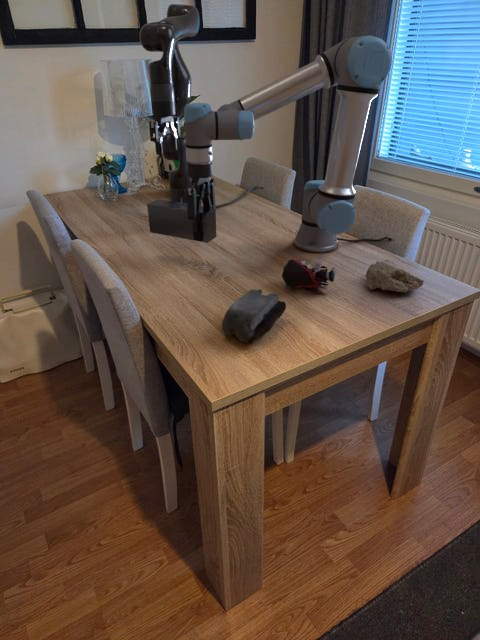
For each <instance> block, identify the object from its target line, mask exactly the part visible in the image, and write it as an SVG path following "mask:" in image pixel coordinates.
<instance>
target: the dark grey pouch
mask: <svg viewBox="0 0 480 640" xmlns="http://www.w3.org/2000/svg"><path fill="white" fill-rule="evenodd" d="M262 292H263V290H262V289H250V290H248V291H247V292H246V293H245V294H243V295H242V296H241V297H239V298H238V299H237V300H235V301H234V302H233V303H232V304H231V305H230V306H229V307H228V309H227V310H226V312H225V314H224V316H223V319H222V323H221V331H222V332H223V333H224V334H225V335H227V336H234V335H235V337H236V338H237V340H239V341H240V342H244V343H247V344H249V345H251V344H253V343H254V342H255V341H257V340H258V339H260V338H262V337H264V336H265V335H266V334H267V333H269V332H270V331H271V330H272V328H273V327H274V325H275V323H276V322H277V320H278V319H279V318H280V317H281V316H283V314H284V313H285V312H286V310H287V304H286V303H287V302H285V301H280V298H279V294H278V293H276V292H275V293H274V292H273V293H269V294H262Z"/></svg>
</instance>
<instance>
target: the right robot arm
mask: <svg viewBox="0 0 480 640" xmlns="http://www.w3.org/2000/svg"><path fill="white" fill-rule="evenodd" d="M391 51H392V50H391V49H390V47H389V45H388V44H387V42H386V41H385V40H383V39H382V38H380V37H377V36H373V35H361V36H350V37H348V38H345V39H344V40H341V41H340V42H338V43H337V44H335V45H333V46H332V47H330V48H329V49H327V50H325V51H323V52H321V53H319V54H317V55H316V57H315V59H314V61H312V62H310V63H307V64H306V65H304V66H301V67H299V68H298V69H296V70H294V71H292V72H290V73H287V74H286V75H284V76H282V77H280V78H278V79H275V80H274V81H272V82H270V83H268V84H266V85H264V86H261V87H260V88H259V89H256V90H254V91H252V92H250V93H248V94H246V95H244V96H242V97H240V98H238V99H237V100H235V101H232V102H231V103H228V104H227V103H226V104H222V105H221V106H219V107H218V108H217V110H216V111H215V110H212V106H211V104H210V103H206V102H192V103H188V104H187V105H186V106H185V108H184V112H183V118H184V119H183V120H184V121H183V123H184V125H183V126H184V136H185V139H186V158H187V161H188V164H187V173H188V176H189V177H191V179H192V181H191V187H190V188H186V194H187V212H188V220H189V221H192V223H193V237H194V240H195V242H199V241H200V243H202V242H201V241H202V224H201V221H200V212H201V206H205V207H212V208H216V207H215V206H216V192H215V191H216V190H215V183H216V179H215V178H211V177H212V176H213V175H214V166H213V165H214V164H213V162H212V161H213V153H214V152H213V141H244V140H251V139H253V137H254V132H255V122H256V121H257V120H259V119H262V118H264V117H265V116H267V115H269V114H271V113H274V112H276V111H277V110H279V109H280V110H281V108H284V107H286V106H288V105H290V104H291V103H294V102H296V101H298V100H300V99H302V98H304V97H306V96H308V95H310V94H312V93H314V92H316V91H318V90H321V89H323V88H324V89H327V90H329V89H330V88H333V87H335V86H336V92H337V94H338V95H339V98H340V99H339V103H338V109H337V113H336V119H335V124H334V130H333V136H332V141H331V147H330V151H329V156H328V162H327V166H326V173H325V178H324V179H318V180H317V179H315V180H308V181H307V182H305V183H304V188H303V199H302V211H301V223H300V226H299V228H298V230H296V231H295V238H294V245H295V246H296V247H297V248H298V249H300V250H302V251H305V252H310V253H328V252H331V251H334V250H335V249H337V246H338V241H342V242H347V243H357V242H382V241H384V240H389V241H393V239H392V237H390V238H388V237H389V236H383V237H381V238H357V239H347V238H342V237H337V235H342V234H344V233H345V232H347V231H349V229H350V228H351V227H352V226H353V225H354V224H355V221H356V216H357V212H356V208H355V206H354V201H355V198H356V190H355V189H354V187H353V183H354V179H355V174H356V170H357V167H358V166H357V165H358V161H359V156H360V151H361V148H362V142H363V139H364V134H365V129H366V124H367V120H368V115H369V113H370V112H369V111H370V107H371V102H372V101H373V100H374V99H375V98H377V97H378V95H379V92H380V88H381V84H382V83H383V82H384V81H385V80H386V79H387V78H388V76H389V74H390V71H391V68H392V63H393V62H392V61H393V56H392V52H391ZM197 195H200V196H197ZM216 209H217V208H216ZM194 240H193V241H194Z"/></svg>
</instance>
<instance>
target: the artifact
mask: <svg viewBox="0 0 480 640" xmlns="http://www.w3.org/2000/svg"><path fill="white" fill-rule="evenodd" d="M365 278H366V287H368V288H369V290H370V291H373V290H376V289H381V291H392V292H397V293H408V292H409V291H416V290H417V289H419V288H421V287H422V286H423V285H424V280H423V279H421V278H419V277H417V276H415V275H413V274H411V273H409V272H408V271H406V270H404V269H401V267H400V266H398V265H397V264H395V262H393V260H391V259H384V260H382V261H376V262H375V263H371V264H370V265H369V266H368V268H367V271H366V273H365Z"/></svg>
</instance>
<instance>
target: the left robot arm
mask: <svg viewBox="0 0 480 640" xmlns="http://www.w3.org/2000/svg"><path fill="white" fill-rule="evenodd" d="M200 18H201V17H200V12H199V10H198V8H197V6H194V5H192V4H191V5H190V4H181V3H180V4H179V3H178V4H177V3H171V4H170V5H168V7H167V10H166V17H164V18H162V19H161V20H159V21H154V22H147V23H145V24H144V25H143V26H141V28H140V31H139V34H138V35H139V43H140V45H141V47H142V48H143V49H144V50H145V51H147V52H150V53H162V56H161V58H160V59H157V60H154V61H150V62H149V64H148V73H149V87H150V88H149V94H150V105H151V114H152V116H153V117H155V119H154V120H155V121H153V120H150V121H148V126H149V141H150V142H153V143H154V146H155V147H154V148H155V153H156V155H157V156H163V158H164V159H165V160H167V161H172V162H173V161H179V168H177V169H175V168H174V169H170V171H169V172H168V182H169V189H170V193H169V195H170V196H169V197H170V201H173V202H179V203H186V204H187V194H186V188H190V187H191V181H192V179H191V177H189V176H188V173H187V164H188V161H187V158H186V139H185V135H181V126H180V119H181V117H182V115H184V108H185V106H186V105H187V104H190V100H191V97H192V76H191V73H190V71H189V69H188V66H187V65H186V62H185V61H184V58H183V56H182V54H181V51H180V46H179V42H178V41H180V40H181V39H184V38H188V37H194V36H197V34H198V33H199V30H200V24H201V19H200ZM257 188H261V189H264V186H263V187H259V185H255V186H254V187H251V188H249V189H247V190H246V192H244V193H243V194H242V195H241V196H239V197H237V198H235V199H234V200H232V201H229V202H225V203H222V204H219V205H215V207H216V209H217V208H222V207H224V206H228V205H231V204H233V203H236V202H238V201H239V200H241V199H243V198H244V197H245V196H246V195H247V194H249V192H251V191H253V190H255V189H257Z"/></svg>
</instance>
